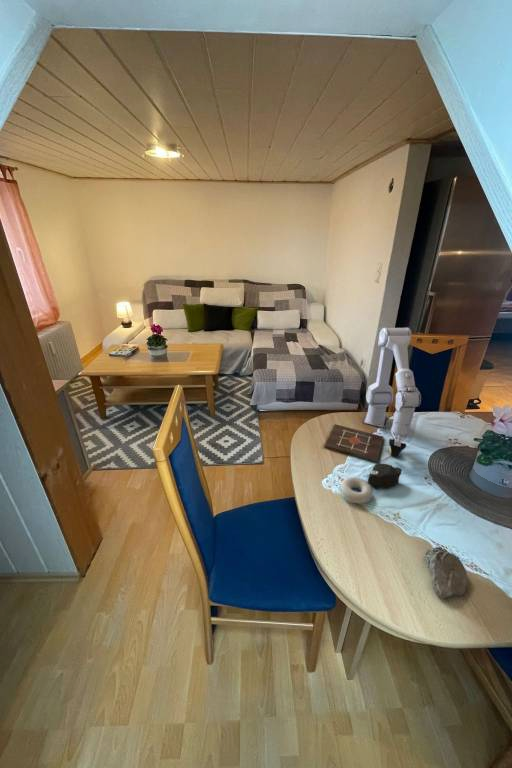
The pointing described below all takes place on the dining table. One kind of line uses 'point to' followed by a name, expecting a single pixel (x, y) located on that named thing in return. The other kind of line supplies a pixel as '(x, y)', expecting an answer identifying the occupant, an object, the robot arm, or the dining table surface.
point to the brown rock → (446, 572)
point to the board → (355, 443)
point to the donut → (356, 496)
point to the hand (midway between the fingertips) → (395, 450)
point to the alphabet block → (390, 451)
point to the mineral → (384, 476)
